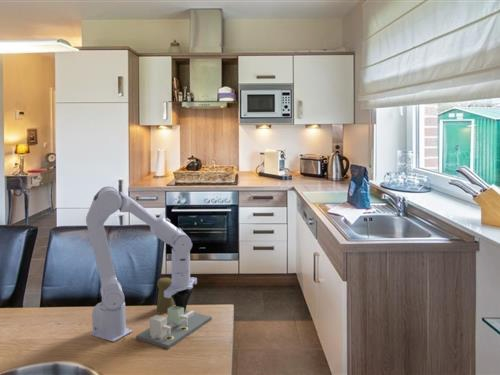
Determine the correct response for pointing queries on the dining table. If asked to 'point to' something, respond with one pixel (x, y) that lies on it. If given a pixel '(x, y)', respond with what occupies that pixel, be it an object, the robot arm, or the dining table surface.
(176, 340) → the plate
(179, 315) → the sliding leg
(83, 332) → the dining table surface
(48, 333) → the dining table surface
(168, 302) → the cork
